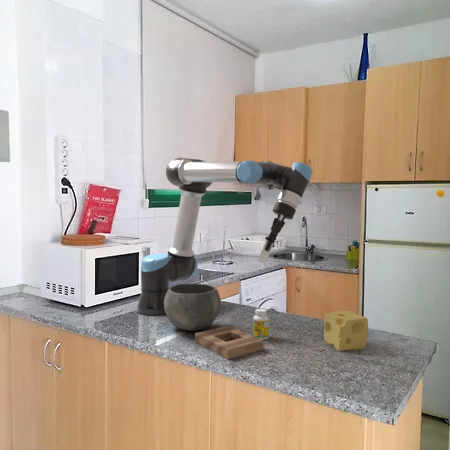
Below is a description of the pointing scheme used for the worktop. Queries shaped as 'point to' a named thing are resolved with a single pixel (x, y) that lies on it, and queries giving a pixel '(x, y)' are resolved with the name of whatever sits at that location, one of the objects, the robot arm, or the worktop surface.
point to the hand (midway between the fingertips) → (261, 261)
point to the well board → (229, 342)
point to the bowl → (192, 306)
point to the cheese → (345, 330)
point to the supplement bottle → (261, 324)
